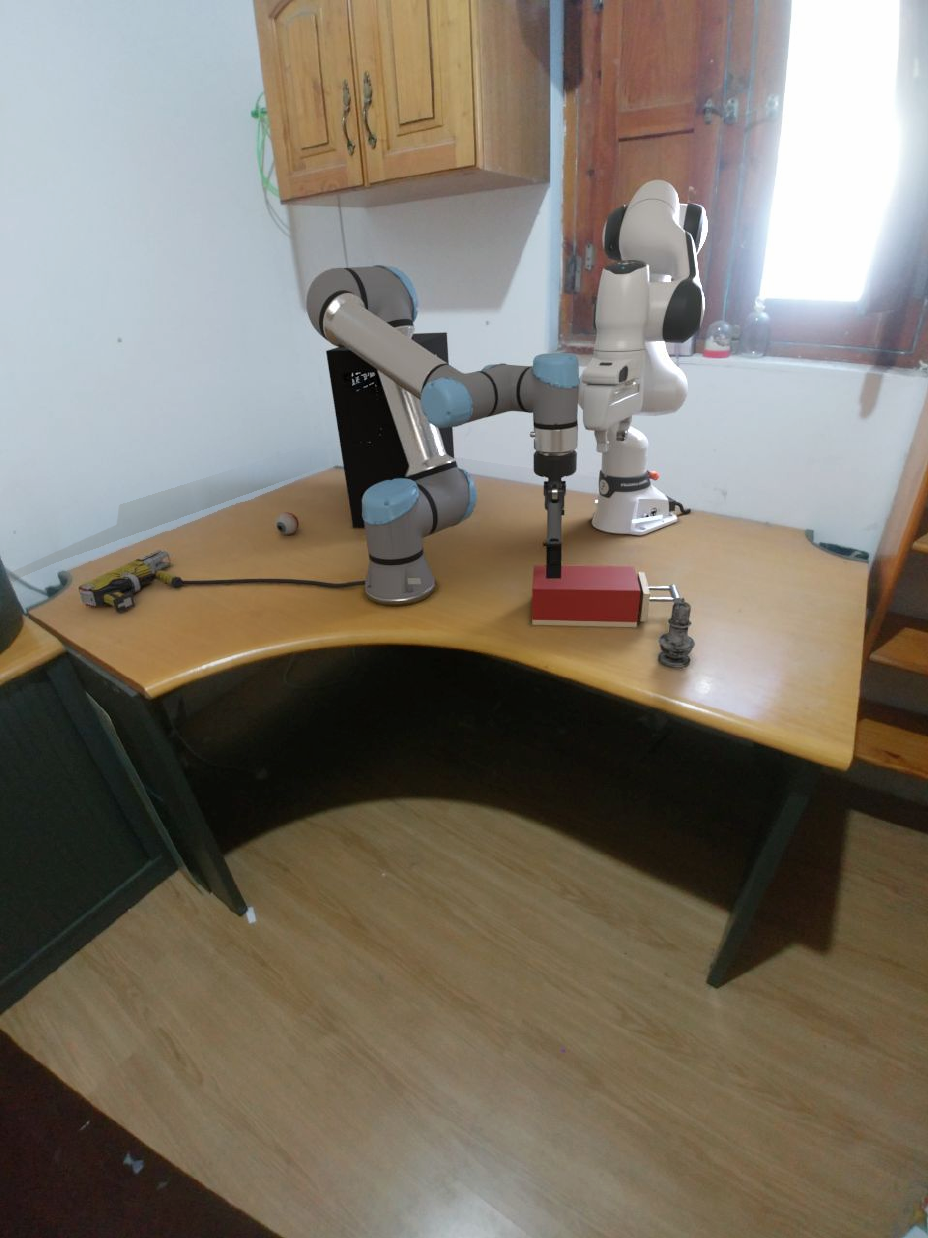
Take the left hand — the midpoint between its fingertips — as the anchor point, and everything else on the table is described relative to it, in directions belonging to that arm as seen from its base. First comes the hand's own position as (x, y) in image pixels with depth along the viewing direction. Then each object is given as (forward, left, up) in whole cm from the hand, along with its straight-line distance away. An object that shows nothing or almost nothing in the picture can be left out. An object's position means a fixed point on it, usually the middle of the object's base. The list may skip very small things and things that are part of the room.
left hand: (553, 562), depth 115 cm
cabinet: (+6, +2, -11) cm, 13 cm away
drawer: (+11, +3, -10) cm, 15 cm away
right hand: (+8, +13, +19) cm, 24 cm away
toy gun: (-92, -13, -11) cm, 94 cm away
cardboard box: (-56, +53, -11) cm, 77 cm away
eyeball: (-79, +24, -11) cm, 83 cm away
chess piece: (+24, -11, -11) cm, 28 cm away
